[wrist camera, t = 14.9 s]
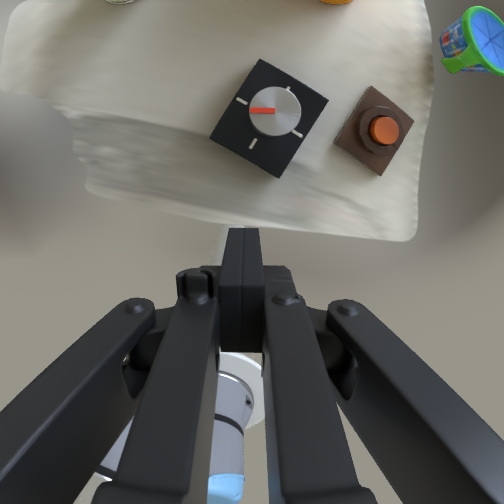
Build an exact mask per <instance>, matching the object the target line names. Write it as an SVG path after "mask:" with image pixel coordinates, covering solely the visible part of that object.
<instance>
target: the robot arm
mask: <svg viewBox="0 0 504 504" xmlns="http://www.w3.org/2000/svg"><path fill="white" fill-rule="evenodd" d="M176 284H177V294H178V299H177V302H176V304H175V306H173V307H170V308H164V309H157V310H155V307H154V303H153V302H152V301H150V300H148V299H145V298H130V299H129V300H125V301H123V302H121V303H120V304H118V305H117V306H116V307H115V308H113V309H112V310H111V311H110V312H109V313H108V314H107V315H105V316H104V317H103V318H102V319H101V320H100V321H98V322H97V323H96V324H95V325H94V326H93V327H92V328H90V329H89V330H88V331H87V332H86V333H85V334H84V335H82V336H81V337H80V338H79V339H78V340H77V341H76V342H75V343H73V344H72V345H71V346H70V347H69V348H68V349H67V350H66V351H64V352H63V353H62V354H61V355H60V356H59V357H58V358H57V359H56V360H55V361H54V362H52V363H51V364H50V365H49V366H48V367H47V368H46V369H45V370H44V371H43V372H42V373H40V374H39V375H38V376H37V377H36V378H35V379H34V380H33V381H32V382H31V383H30V384H29V385H28V386H27V387H26V388H24V389H23V391H21V392H20V393H19V394H18V395H17V396H16V397H15V398H14V399H13V400H12V401H11V402H10V403H9V404H8V405H7V406H6V407H5V408H4V409H3V410H2V411H1V412H0V504H237V503H238V502H239V501H240V499H241V498H242V493H243V483H244V480H245V477H244V462H243V461H244V453H243V452H244V450H243V449H244V441H243V434H244V430H245V428H246V426H247V423H248V421H249V419H250V417H251V414H252V412H253V408H254V396H253V392H252V390H251V388H250V387H249V385H248V384H247V383H246V382H245V381H243V380H242V379H241V378H239V377H237V376H235V375H233V374H231V373H228V372H225V371H221V370H219V367H220V352H232V353H262V367H261V377H263V393H264V411H265V429H266V449H267V468H268V488H269V504H378V503H377V501H376V498H375V496H374V494H373V493H372V492H371V490H370V489H369V488H365V487H362V486H361V485H360V484H359V482H358V479H357V476H356V472H355V468H354V465H353V461H352V457H351V453H350V450H349V446H348V442H347V439H346V435H345V432H344V428H343V425H342V421H341V418H340V414H339V411H338V407H337V404H338V405H339V407H340V408H341V410H342V412H343V413H344V415H345V416H346V418H347V419H348V421H349V422H350V424H351V425H352V427H353V428H354V430H355V432H356V433H357V434H358V436H359V438H360V439H361V440H362V442H363V444H364V445H365V447H366V448H367V450H368V451H369V453H370V454H371V456H372V457H373V459H374V460H375V462H376V463H377V465H378V466H379V468H380V470H381V471H382V473H383V474H384V475H385V477H386V479H387V480H388V482H389V483H390V485H391V486H392V488H393V489H394V491H395V492H396V493H397V495H398V497H399V498H400V500H401V501H402V503H403V504H504V441H503V440H502V439H501V438H500V437H499V436H498V435H497V433H495V431H494V430H493V429H492V428H491V427H490V426H489V425H488V424H487V423H486V422H485V421H484V420H483V419H482V418H481V417H480V416H479V415H478V414H477V413H476V412H475V411H474V410H473V409H472V408H471V407H470V406H469V405H468V404H467V403H466V402H465V401H464V400H463V399H462V398H461V397H460V396H459V395H458V394H457V393H456V392H455V391H454V390H453V389H452V388H451V387H450V386H449V385H448V384H447V383H446V382H445V381H444V380H443V379H442V378H440V377H439V375H437V374H436V373H435V372H434V371H433V370H432V369H431V368H430V367H429V366H428V365H427V364H426V363H425V362H424V361H423V360H422V359H421V358H420V357H419V356H418V355H416V353H415V352H413V351H412V350H411V349H410V348H409V347H408V346H407V345H406V344H405V343H404V342H403V341H402V340H401V339H400V338H399V337H397V336H396V335H395V334H394V333H393V332H392V331H391V330H390V329H389V328H388V327H387V326H386V325H385V324H384V323H382V322H381V321H380V320H379V319H378V318H377V317H376V316H375V315H374V314H373V313H372V312H370V311H369V310H368V309H367V308H366V307H365V306H363V305H362V304H360V303H358V302H355V301H353V300H348V299H343V300H336V301H332V302H331V303H330V304H329V305H328V310H327V311H324V310H319V309H314V308H311V307H308V306H306V303H305V300H304V299H303V297H302V296H301V295H299V294H297V292H296V289H295V285H294V282H293V279H292V276H291V272H290V270H289V269H287V268H286V267H285V266H263V263H262V255H261V246H260V237H259V229H258V228H229V231H228V236H227V241H226V246H225V251H224V256H223V260H222V265H221V266H201V267H199V268H192V269H187V270H183V271H181V272H179V273H178V274H177V275H176ZM125 357H126V360H125V361H124V362H123V360H124V358H125ZM336 402H337V404H336Z"/></svg>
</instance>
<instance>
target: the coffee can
mask: <svg viewBox="0 0 504 504" xmlns="http://www.w3.org/2000/svg"><path fill="white" fill-rule="evenodd" d="M106 1H108V2H109V3H113V4H126V3H131V2H134V1H136V0H106Z"/></svg>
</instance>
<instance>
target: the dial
mask: <svg viewBox="0 0 504 504" xmlns="http://www.w3.org/2000/svg"><path fill="white" fill-rule="evenodd" d="M300 117H301V107H300V103H299V101H298V99H297V98H296V97H295V95H294V94H293V93H291V92H290V91H289V90H287V89H284V88H281V87H268V88H265V89H263V90H261V91H259V92H258V93H257V94H256V95H255V96H254V97H253V99H252V101H251V103H250V107H249V121H250V124H251V126H252V128H253V129H254V130H255V131H256V132H257V133H258V134H260V135H262V136H266V137H275V136H281V135H285V134H287V133H289V132H291V131H292V130H293V129H294V128H295V127H296V126H297V124H298V123H299V120H300Z"/></svg>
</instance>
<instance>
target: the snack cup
mask: <svg viewBox="0 0 504 504" xmlns="http://www.w3.org/2000/svg"><path fill="white" fill-rule="evenodd" d="M440 43H441V49H442V51H443V54H444V56H445V58H442V59H441V61H442V63H443V65H444V66H445V67H446V69H447V70H448V71H449V72H450V73H452V74H455V73H456V72H458V71H459V70H461V71H465V72H488V73H490V72H491V73H494V74H496V75H498V76H504V23H503V22H502V21H501V19H500V18H499V17H498V16H497V15H495V14H494V13H493V12H492V11H490V10H489V9H487V8H484V7H482V6H475V7H472V8H469V9H468V10H466V12H465V13H464V14H463V16H462V17H461V18H459V19H458V20H457V21H455V22H454V23H453V24H452V25H451V26H449V27H448V28H447V29H446V30H445V31H444V32H443V33H442V35H441V37H440Z"/></svg>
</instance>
